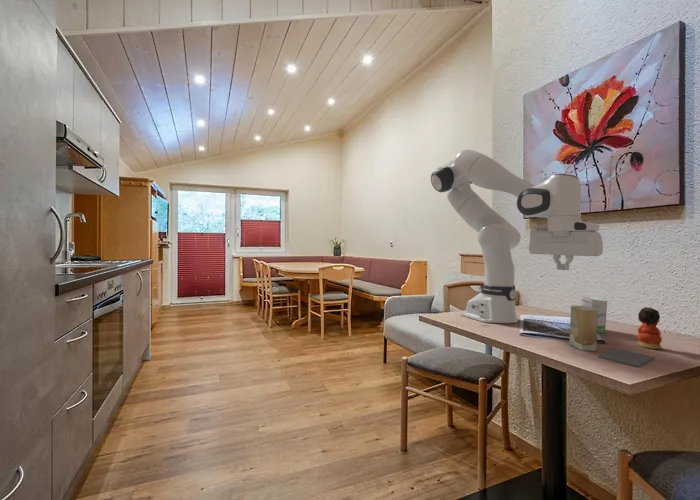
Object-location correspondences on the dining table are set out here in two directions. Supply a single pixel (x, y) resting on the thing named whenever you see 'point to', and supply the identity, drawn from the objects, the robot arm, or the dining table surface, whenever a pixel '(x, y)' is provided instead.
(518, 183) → the robot arm
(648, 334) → the figurine
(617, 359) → the felt mat
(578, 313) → the skincare box
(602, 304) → the ink box
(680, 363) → the dining table surface
